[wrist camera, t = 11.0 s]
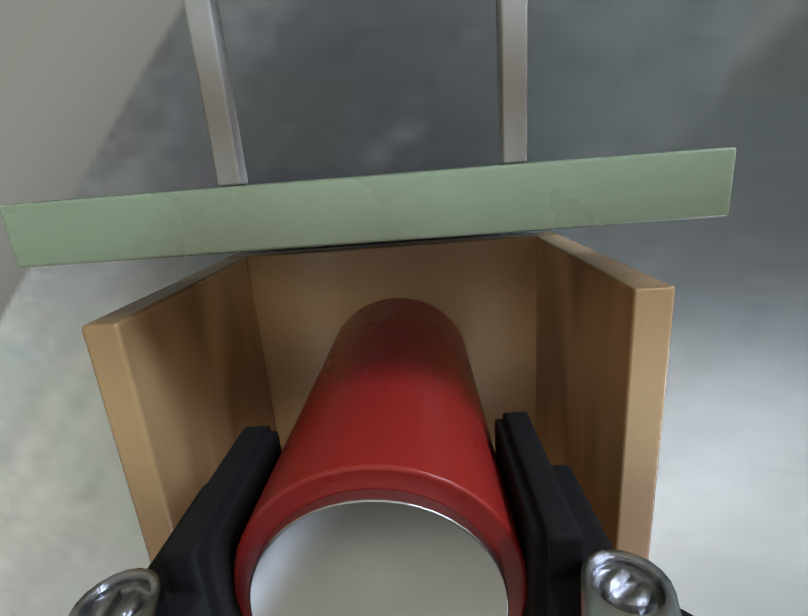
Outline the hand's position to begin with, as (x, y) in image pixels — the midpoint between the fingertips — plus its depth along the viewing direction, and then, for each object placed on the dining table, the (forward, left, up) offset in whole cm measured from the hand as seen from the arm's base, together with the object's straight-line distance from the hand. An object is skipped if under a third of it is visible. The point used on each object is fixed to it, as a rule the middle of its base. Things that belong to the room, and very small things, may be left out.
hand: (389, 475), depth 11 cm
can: (0, 0, -7) cm, 7 cm away
